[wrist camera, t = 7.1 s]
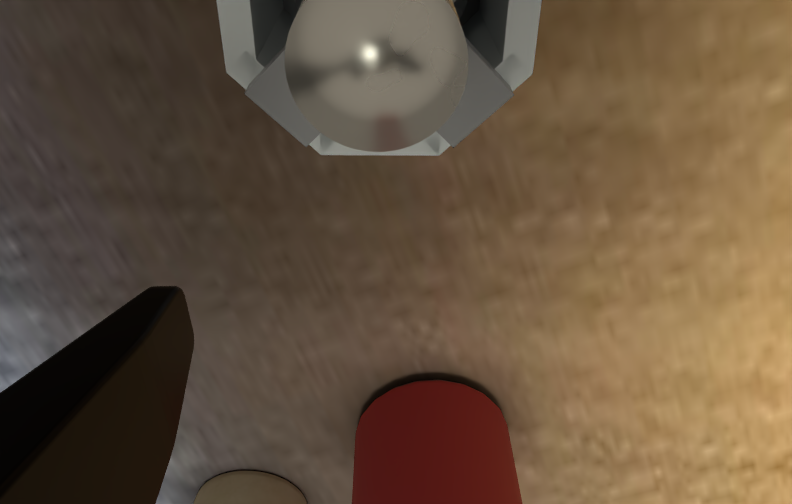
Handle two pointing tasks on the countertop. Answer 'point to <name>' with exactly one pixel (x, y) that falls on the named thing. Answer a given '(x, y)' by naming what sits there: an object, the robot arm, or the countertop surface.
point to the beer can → (434, 448)
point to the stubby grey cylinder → (377, 68)
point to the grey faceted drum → (484, 94)
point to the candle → (249, 489)
